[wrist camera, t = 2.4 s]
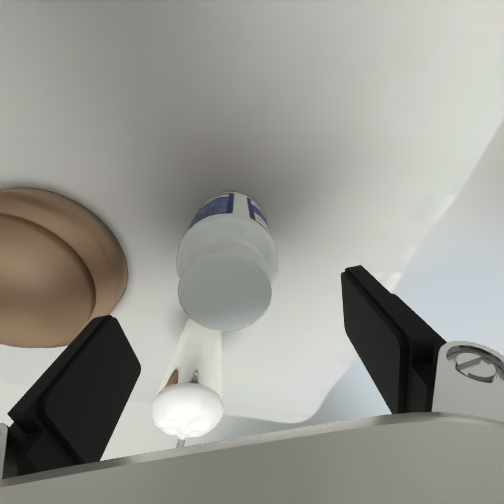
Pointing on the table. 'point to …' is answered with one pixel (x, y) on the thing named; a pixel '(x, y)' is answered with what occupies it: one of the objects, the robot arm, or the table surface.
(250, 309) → the pill bottle
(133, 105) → the table surface
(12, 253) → the walnut stand
